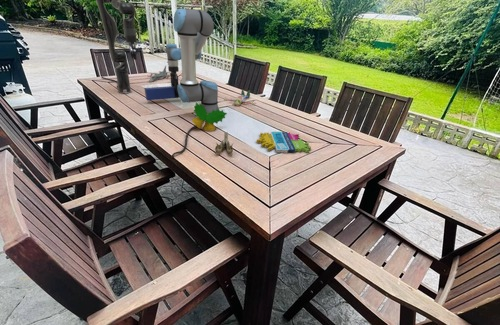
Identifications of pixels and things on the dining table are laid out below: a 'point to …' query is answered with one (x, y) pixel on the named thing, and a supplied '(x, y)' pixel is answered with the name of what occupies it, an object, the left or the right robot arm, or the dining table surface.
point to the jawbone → (224, 145)
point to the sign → (283, 142)
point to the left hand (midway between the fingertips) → (134, 58)
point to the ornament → (207, 117)
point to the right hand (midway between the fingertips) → (175, 96)
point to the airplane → (159, 75)
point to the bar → (160, 93)
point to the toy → (241, 99)
